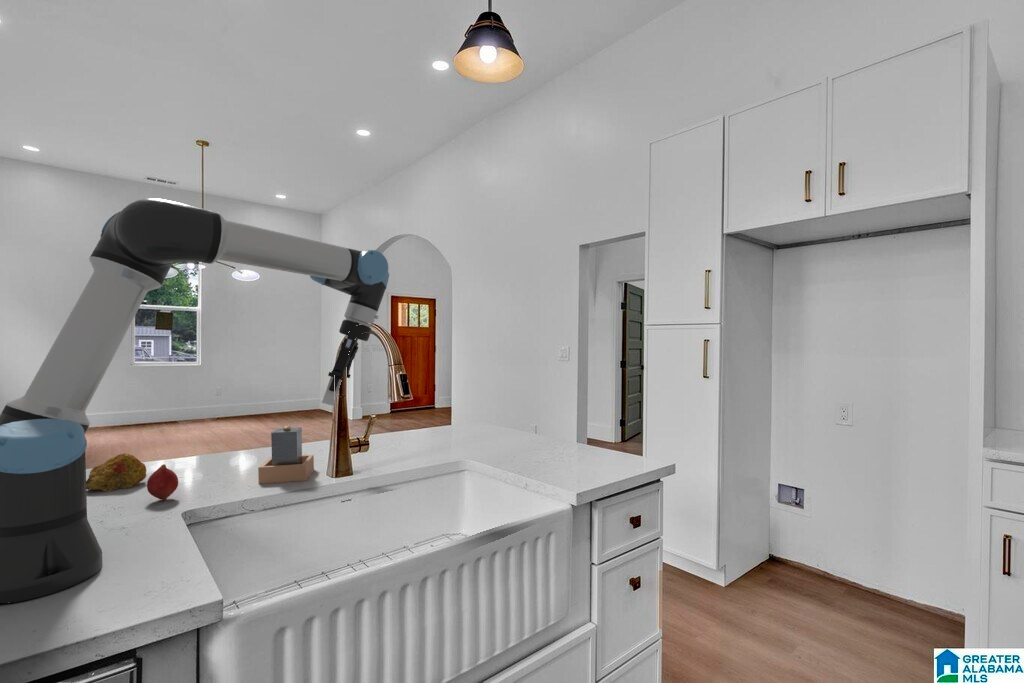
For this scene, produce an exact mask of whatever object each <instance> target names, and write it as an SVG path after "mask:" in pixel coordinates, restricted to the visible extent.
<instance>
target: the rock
mask: <svg viewBox="0 0 1024 683" xmlns="http://www.w3.org/2000/svg"><path fill="white" fill-rule="evenodd" d="M146 477H147V467H146V465H145V463H144V462H141V460H139V459H138V458H137V457H136V456H134V455H133V454H130V453H127V452H125V453H124V452H123V453H120V454H118V455H115V456H114V457H111V458H109V459H107V460H106V461H105V462H103V463H102V464H99V465H96V466H94V467H92V469H91V470H90V471H89V474H88V478H87V479H86V490H95V491H96V490H98V491H103V492H109V491H108V490H112V491H113V490H119V489H121V488H126V489H129V488H128V487H130V488H132V486H133V487H134V485H135V486H137V485H139V484H140V483H141V482H143V481H144V480H146Z"/></svg>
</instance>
